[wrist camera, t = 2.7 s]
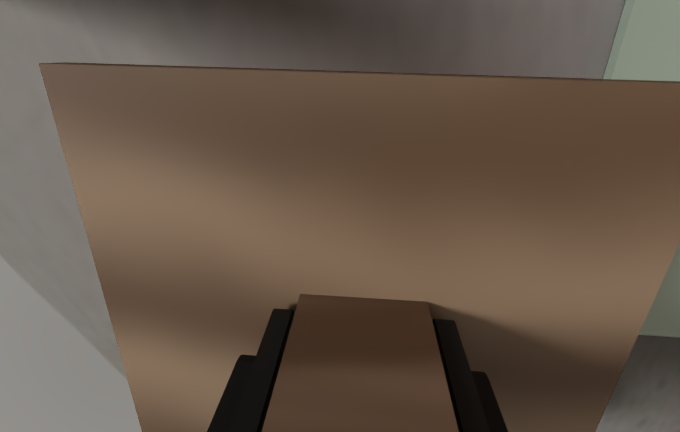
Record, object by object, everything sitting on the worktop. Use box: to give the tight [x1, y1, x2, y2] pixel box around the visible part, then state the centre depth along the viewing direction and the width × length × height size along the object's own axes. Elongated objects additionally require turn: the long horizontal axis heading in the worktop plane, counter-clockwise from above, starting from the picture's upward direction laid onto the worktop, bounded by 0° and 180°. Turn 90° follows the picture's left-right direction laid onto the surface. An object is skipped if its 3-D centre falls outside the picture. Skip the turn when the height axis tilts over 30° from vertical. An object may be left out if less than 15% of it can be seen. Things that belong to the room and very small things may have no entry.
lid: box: [39, 63, 680, 432], centre depth 9 cm, size 15×15×6 cm
